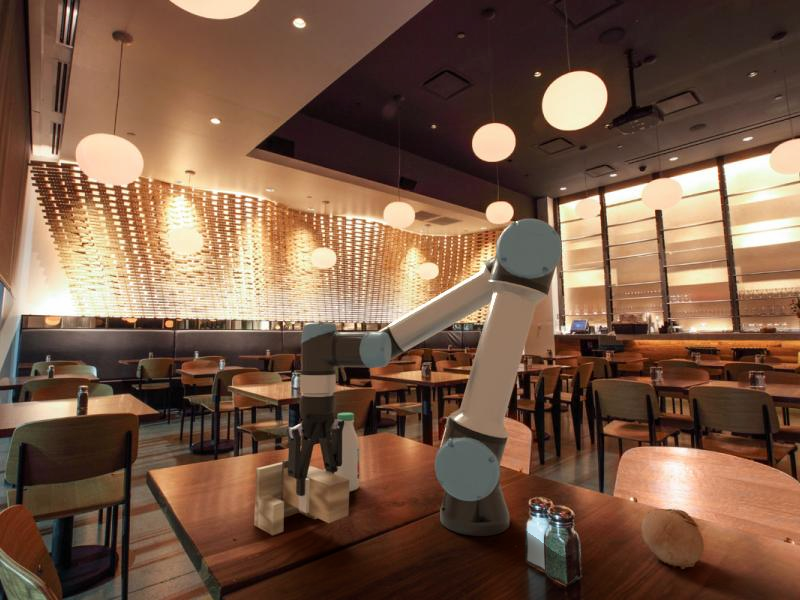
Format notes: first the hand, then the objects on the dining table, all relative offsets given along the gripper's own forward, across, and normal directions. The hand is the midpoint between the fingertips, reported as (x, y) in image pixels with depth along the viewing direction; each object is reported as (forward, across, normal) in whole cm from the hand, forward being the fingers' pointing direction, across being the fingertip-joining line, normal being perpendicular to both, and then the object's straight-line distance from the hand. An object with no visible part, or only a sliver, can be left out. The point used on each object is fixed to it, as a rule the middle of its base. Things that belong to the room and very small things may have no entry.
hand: (315, 506), depth 87 cm
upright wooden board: (+5, 0, -9) cm, 11 cm away
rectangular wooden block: (0, 0, 0) cm, 0 cm away
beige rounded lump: (+5, -36, +58) cm, 68 cm away
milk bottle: (+6, -22, -16) cm, 28 cm away
